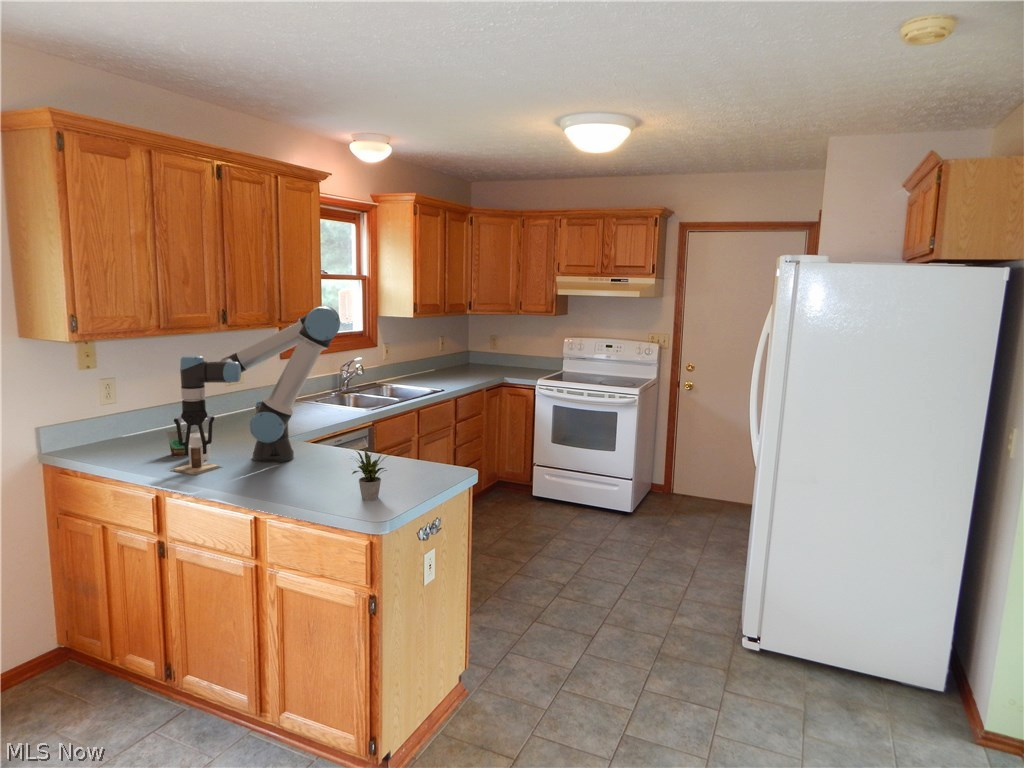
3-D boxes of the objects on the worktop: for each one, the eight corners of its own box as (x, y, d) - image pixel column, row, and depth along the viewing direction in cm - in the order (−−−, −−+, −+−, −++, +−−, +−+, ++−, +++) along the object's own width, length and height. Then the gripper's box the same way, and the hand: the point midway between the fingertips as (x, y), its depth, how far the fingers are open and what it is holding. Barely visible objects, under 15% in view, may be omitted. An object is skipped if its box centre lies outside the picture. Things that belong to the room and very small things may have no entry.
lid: (219, 467, 241) (218, 446, 240) (195, 474, 231) (194, 453, 230) (197, 463, 245) (196, 443, 243) (173, 470, 235) (172, 449, 234)
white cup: (185, 460, 251) (184, 434, 250) (206, 456, 257) (205, 431, 255) (192, 464, 246) (191, 438, 244) (214, 460, 251) (213, 435, 250)
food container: (163, 458, 253) (162, 433, 251) (167, 454, 259) (166, 429, 257) (198, 457, 256) (197, 431, 254) (201, 453, 262) (200, 428, 260)
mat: (223, 468, 241) (223, 467, 241) (195, 477, 230) (195, 475, 230) (198, 464, 246) (198, 462, 246) (169, 472, 235) (169, 471, 234)
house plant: (334, 499, 211) (333, 449, 209) (364, 488, 223) (364, 441, 221) (367, 507, 204) (367, 456, 202) (396, 496, 216) (397, 447, 213)
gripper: (218, 396, 241) (221, 459, 244) (168, 398, 234) (172, 462, 238) (218, 400, 234) (220, 464, 237) (166, 402, 228) (170, 467, 231)
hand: (196, 463), depth 238 cm, fingers closed on lid, 3 cm apart
